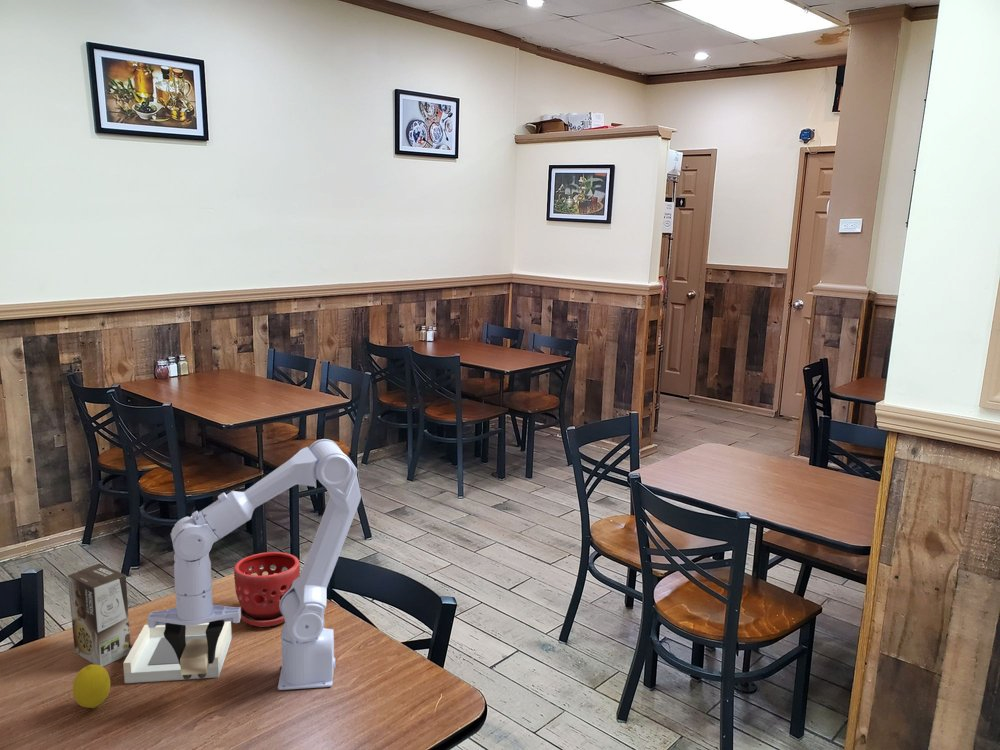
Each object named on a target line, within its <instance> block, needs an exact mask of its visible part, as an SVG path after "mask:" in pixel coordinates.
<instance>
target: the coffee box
mask: <svg viewBox="0 0 1000 750" xmlns="http://www.w3.org/2000/svg"><path fill="white" fill-rule="evenodd" d="M67 585H68V596H69V605H70V606H69V608H70V613H71V614H70V616H71V626H72V638H73V649H74V654H76V653H77V654H76V655H78V656H79V655H80V656H79V657H81V658H83V659H85V660H86V661H88V662H90V664H91V663H92V665H100V666H102V667H105V666H107V665H109V664H112V663H114V662H116V661H118V660H120V659H122V658H126V657H127V656H128V654H129V652H130V650H131V648H132V646H131V631H130V630H131V629H130V617H129V604H128V603H129V602H128V601H129V600H128V588H127V587H128V586H127V575H126V574H124V573H123V572H119V571H117V570H115V569H114V568H111V567H108V566H105V564H102V563H97V564H93V565H91V566H88V567H87V568H86V567H85V568H84V569H81V570H78V571H76V572H73V573H70V574H68V575H67Z"/></svg>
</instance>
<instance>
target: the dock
mask: <svg viewBox="0 0 1000 750" xmlns="http://www.w3.org/2000/svg"><path fill="white" fill-rule="evenodd" d="M208 625H209V623H203V624H199V625H193V626H186V630H185V640H186V644H187V642H188V640H189V639H204V638H207V637H206V629H207V627H208ZM164 631H165V625H156V627H154V628H148V624H144V625H143V627H142V629H141V631H140V632H139V635H138V636H137V638H136V640H135V641H134V643H133V645H132V646H131V650H130V652H129V654H128V655H127V656H125V659H124V661H123V663H122V665H123V676H124V678H123V679H124V684H135V683H153V682H164V681H167V682H168V681H181V680H182V681H183V680H185V679H184V678H183V675H181V667H180V664H179V661H178V658H177V655H176V653H175V651H174V649H173V647H172V646H171V644H170V643H169V642H168V641H167V639H166V638H165V637H164ZM232 639H233V638H232V621H228V622H225V623H224V626H223V629H222V631H221V633H220V636H219V638H218V641H217V645H216V651H215V659H214V661H213V663H212V664H209V667H208V670H207V675H206V676H205V677H204V678H203V679H211V678H213V679H214V678H220V675H221V671H222V668H223V666H224V662H225V659H226V657H227V654H228V650H229V648H230V645H231V641H232ZM195 679H196V680H198V679H200V678H199V677H198V674H192V676H191V677H190V678H189V679H188V680H195Z"/></svg>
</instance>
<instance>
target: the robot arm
mask: <svg viewBox="0 0 1000 750" xmlns="http://www.w3.org/2000/svg"><path fill="white" fill-rule="evenodd" d="M316 480H317V481H318V482H319V483H320V484H321V485H322V486H323V487H325V489H326V490H327V493H328V494H329V499H328V502H327V503H326V504H327V505H326V507H325V508H324V509H325V510H324V512H323V514H322V518H321V519H320V522H319V525H318V528H317V530H316V533H315V536H314V537H313V540H312V543H311V546H310V549H309V552H308V555H307V556H306V559H305V562H304V565H303V567H302V569H301V573H300V576H299V577H298V578H296V579H295V580H294V581H293V583H292V586H291V588H290V589H289V590H288V591H287V592H286V593H285V594H284V595H283V597H282V598H281V601H280V606H279V607H280V611H281V614H282V615H283V617H284V619H285V622H284V624H283V627H282V628H281V631H280V632H281V633H280V634H281V670H280V675H279V679H278V685H277V690H279V691H285V690H286V691H287V690H298V689H299V690H300V689H313V688H314V689H315V688H328V687H333V682H334V679H333V678H334V670H335V669H336V657H335V636H334V635H335V632H334V631H335V630H334V628H325V617H324V615H325V611H326V608H327V604H328V603H327V588H328V586H329V583H330V580H331V578H332V576H333V573H334V570H335V567H336V565H337V563H338V560H339V557H340V554H341V552H342V549H343V546H344V543H345V542H346V538H347V536H348V534H349V531H350V528H351V526H352V523H353V520H354V518H355V514H356V512H357V510H358V507H359V504H360V502H361V498H362V494H361V488H360V484H359V479H358V468H357V467H356V466H355V464H354V463H353V461H352V460H351V458H350V457H349V456H348V455H346V454H345V453H344V452H343V451H342V449H341V447H340V446H339V445H338V444H337V443H336V442H335V441H334V440H331V439H328V438H327V439H326V438H322V439H321V438H320V439H317V440H316V441H314V442H312V443H311V445H310V446H305V447H303V448H301V449H300V450H299V451H298V452H297V453H296V454H294V455H293V456H292V457H290V459H288V460H287V461H285V462H284V463H282V464H280V466H278V467H277V468H276V469H274V470H272V471H271V472H270V473H268V474H267V475H266V476H264V477H263V478H262V479H260V480H258V481H257V482H256V483H254V484H253V485H251V486H250V487H249V488H247V489H245V490H244V491H236V490H231V491H230V492H228V493H227V494H226V492H222V493H219V494H218V496H217V500H216V501H214V502H212V503H211V504H209V505H208V506H206V507H205V508H203V509H201V510H199V511H198V510H196V511H193V512H192V513H191V516H185V517H182V518H181V519H179V520H177V522H176V523H174V526H173V527H172V529H171V532H170V538H171V541H172V548H173V551H174V555H173V560H174V564H173V573H174V574H173V575H174V577H173V578H174V593H175V607H173V608H168V609H163V610H155V611H151V612H149V615H148V616H147V625H148V628H154V627H156V625H165V631H164V637H165V638H166V639H167V641H168V642H169V643H170V644H171V646H172V647H173V649H174V651H175V653H176V655H177V658H178V661H179V664H180V658H181V656H182V653H183V651H184V649H185V647H186V640H185V630H186V626H193V625H199V624H203V623H209V625H208V627H207V629H206V637H207V644H208V663H209V664H212V663H213V661H214V659H215V651H216V645H217V641H218V638H219V636H220V633H221V631H222V629H223V626H224V623H225V622H228V621H231V622H232V623H233V624H238V623H240V622H241V620H242V619H241V606H227V605H220V604H214V602H213V599H214V598H213V581H212V579H213V578H212V561H211V558H210V551H211V550H212V547H213V545H214V543H216V542H218V541H219V540H221V539H223V538H224V537H225V536H227V535H229V534H230V533H232V532H233V531H235V530H237V529H238V528H239V527H241V526H242V525H244V524H246V523H247V522H249V521H250V520H252V517H253V514H254V511H255V509H256V508H258V507H260V506H261V505H263V504H265V503H266V502H268V501H270V500H271V499H274V498H275V497H276V496H279V495H281V494H282V493H284V492H286V491H287V490H289V489H290V488H292V487H294V486H296V485H301V486H306V487H317V484H316Z"/></svg>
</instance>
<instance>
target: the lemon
mask: <svg viewBox="0 0 1000 750" xmlns="http://www.w3.org/2000/svg"><path fill="white" fill-rule="evenodd" d="M110 690H111V678H110V675H109V673H108V671H107V669H106V668H105V666H103V667H102V666H100V665H95V664H93V663H92V664H91V663H90V664H88V665H86V666H84V667H82V668H81V669H80V670H79V671H78V672H77V673H76V675H75V677H74V680H73V683H72V694H73V698H74V700H75V701H76V703H77V704H78V705H79V706H80V707H82V708H89V709H90V708H91V709H95V708H96V707H97V706H99V705H101V704H102V703H103V702H104V701H105V700H106V699H107V698H108V696H109V693H110Z"/></svg>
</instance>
